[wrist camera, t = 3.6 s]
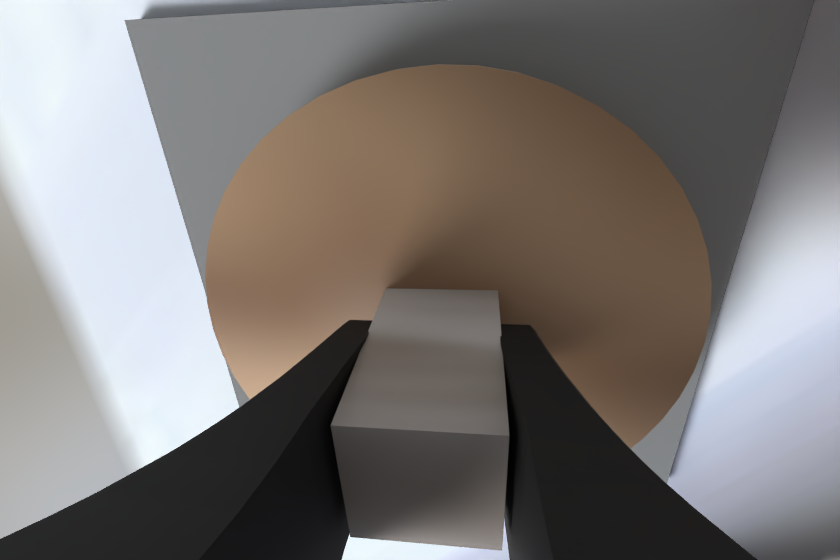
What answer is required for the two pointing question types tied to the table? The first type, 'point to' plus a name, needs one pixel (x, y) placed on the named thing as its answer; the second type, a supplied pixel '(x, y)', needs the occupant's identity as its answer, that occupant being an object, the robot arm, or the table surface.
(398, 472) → the lid
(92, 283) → the table surface
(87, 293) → the table surface
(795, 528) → the table surface
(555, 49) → the mat
